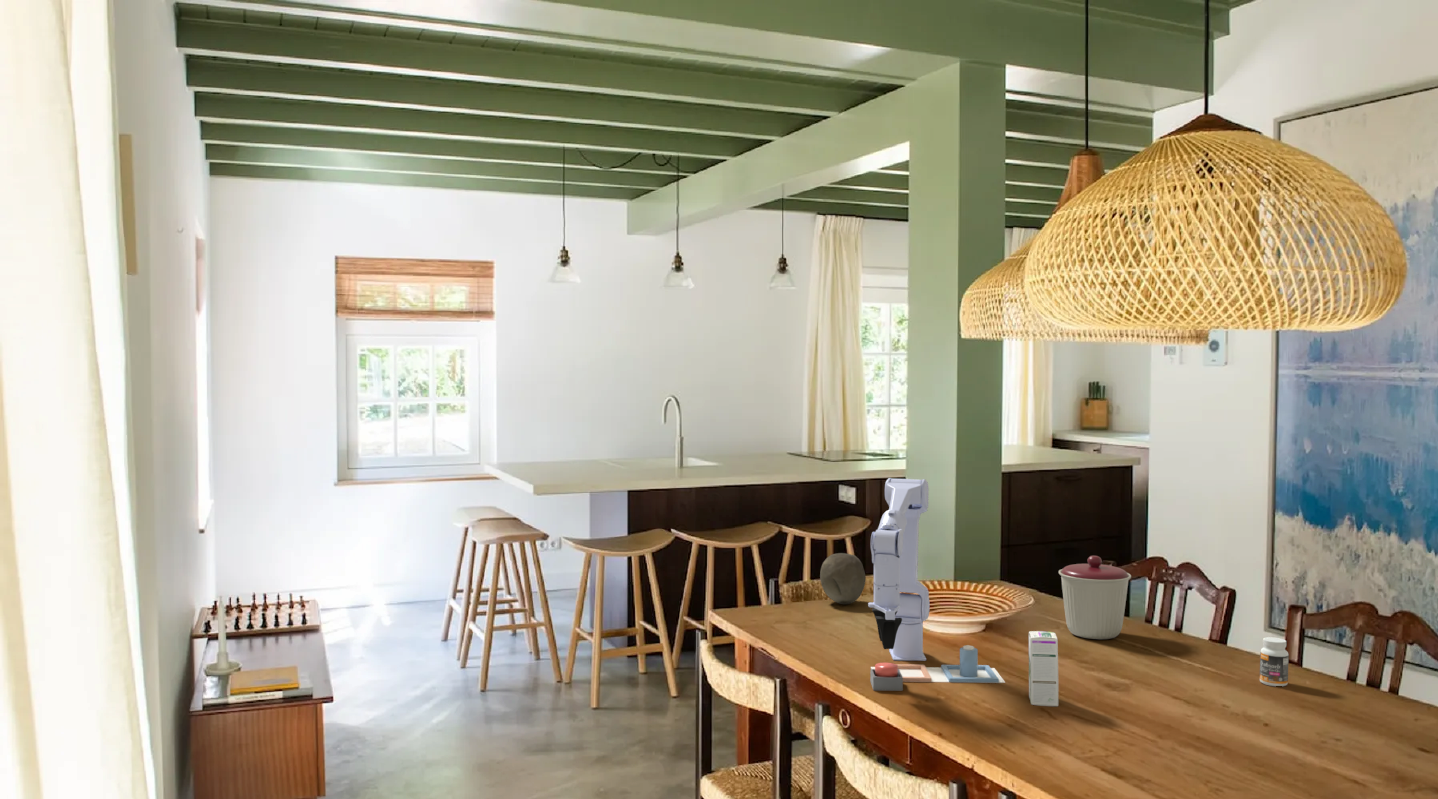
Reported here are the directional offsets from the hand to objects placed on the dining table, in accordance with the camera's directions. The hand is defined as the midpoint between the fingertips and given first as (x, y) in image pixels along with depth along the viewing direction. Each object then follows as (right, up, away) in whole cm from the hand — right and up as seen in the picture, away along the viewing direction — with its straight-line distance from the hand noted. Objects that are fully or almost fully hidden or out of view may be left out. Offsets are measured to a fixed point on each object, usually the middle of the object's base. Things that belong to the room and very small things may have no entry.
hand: (886, 644), depth 237 cm
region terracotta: (+5, -9, +9) cm, 14 cm away
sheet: (+13, -9, +9) cm, 18 cm away
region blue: (+20, -9, +8) cm, 24 cm away
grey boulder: (0, -7, +84) cm, 84 cm away
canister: (+62, -8, +45) cm, 77 cm away
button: (0, -7, 0) cm, 7 cm away
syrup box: (+32, -10, -11) cm, 35 cm away
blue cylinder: (+20, -9, +8) cm, 24 cm away
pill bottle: (+87, -9, +2) cm, 88 cm away
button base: (0, -9, 0) cm, 9 cm away
